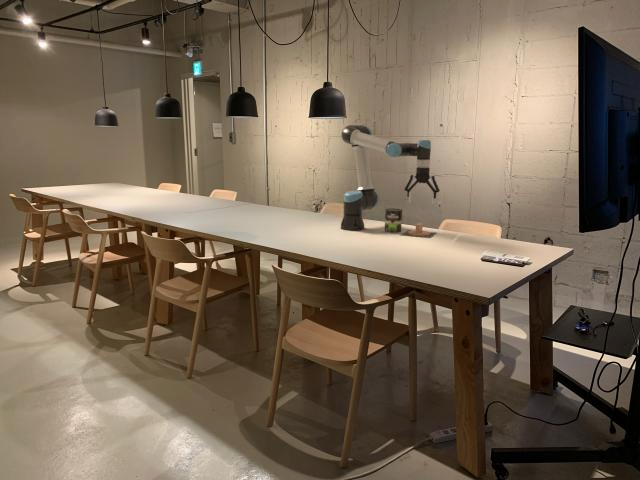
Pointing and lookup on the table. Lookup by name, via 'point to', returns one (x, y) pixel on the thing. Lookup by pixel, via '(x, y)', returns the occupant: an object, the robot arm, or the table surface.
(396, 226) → the coffee can
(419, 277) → the table surface
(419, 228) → the lid
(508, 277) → the table surface
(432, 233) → the mat
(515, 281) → the table surface
